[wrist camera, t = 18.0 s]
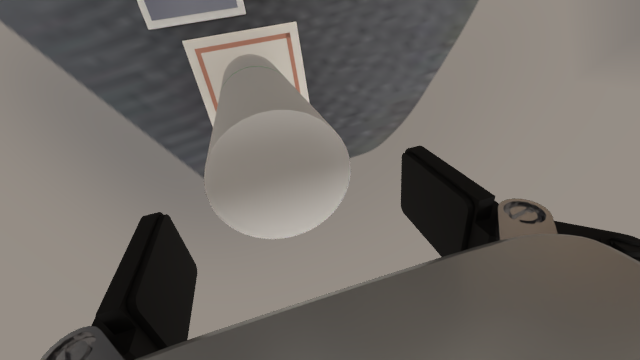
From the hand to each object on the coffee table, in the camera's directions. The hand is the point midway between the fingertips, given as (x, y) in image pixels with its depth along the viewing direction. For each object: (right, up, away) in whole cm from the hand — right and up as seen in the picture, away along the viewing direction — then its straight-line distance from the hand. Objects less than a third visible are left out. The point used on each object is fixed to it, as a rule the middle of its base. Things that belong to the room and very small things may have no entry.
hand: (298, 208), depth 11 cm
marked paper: (-7, +13, +24) cm, 28 cm away
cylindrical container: (-8, +13, +24) cm, 28 cm away
